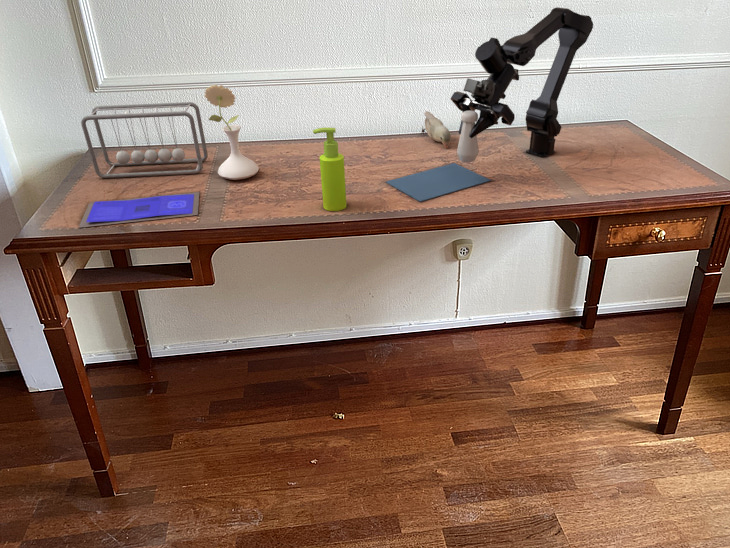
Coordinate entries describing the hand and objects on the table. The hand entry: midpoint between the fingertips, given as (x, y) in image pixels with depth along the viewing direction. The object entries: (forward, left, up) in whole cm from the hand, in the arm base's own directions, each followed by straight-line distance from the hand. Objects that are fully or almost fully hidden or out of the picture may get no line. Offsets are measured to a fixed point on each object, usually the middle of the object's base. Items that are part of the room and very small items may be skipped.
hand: (464, 135), depth 159 cm
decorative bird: (-28, +19, -13) cm, 36 cm away
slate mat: (-4, -5, -13) cm, 14 cm away
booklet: (-46, -71, -13) cm, 86 cm away
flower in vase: (-49, -42, -13) cm, 65 cm away
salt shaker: (0, +1, -7) cm, 7 cm away
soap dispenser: (-13, -36, -13) cm, 40 cm away
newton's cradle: (-70, -56, -13) cm, 91 cm away
